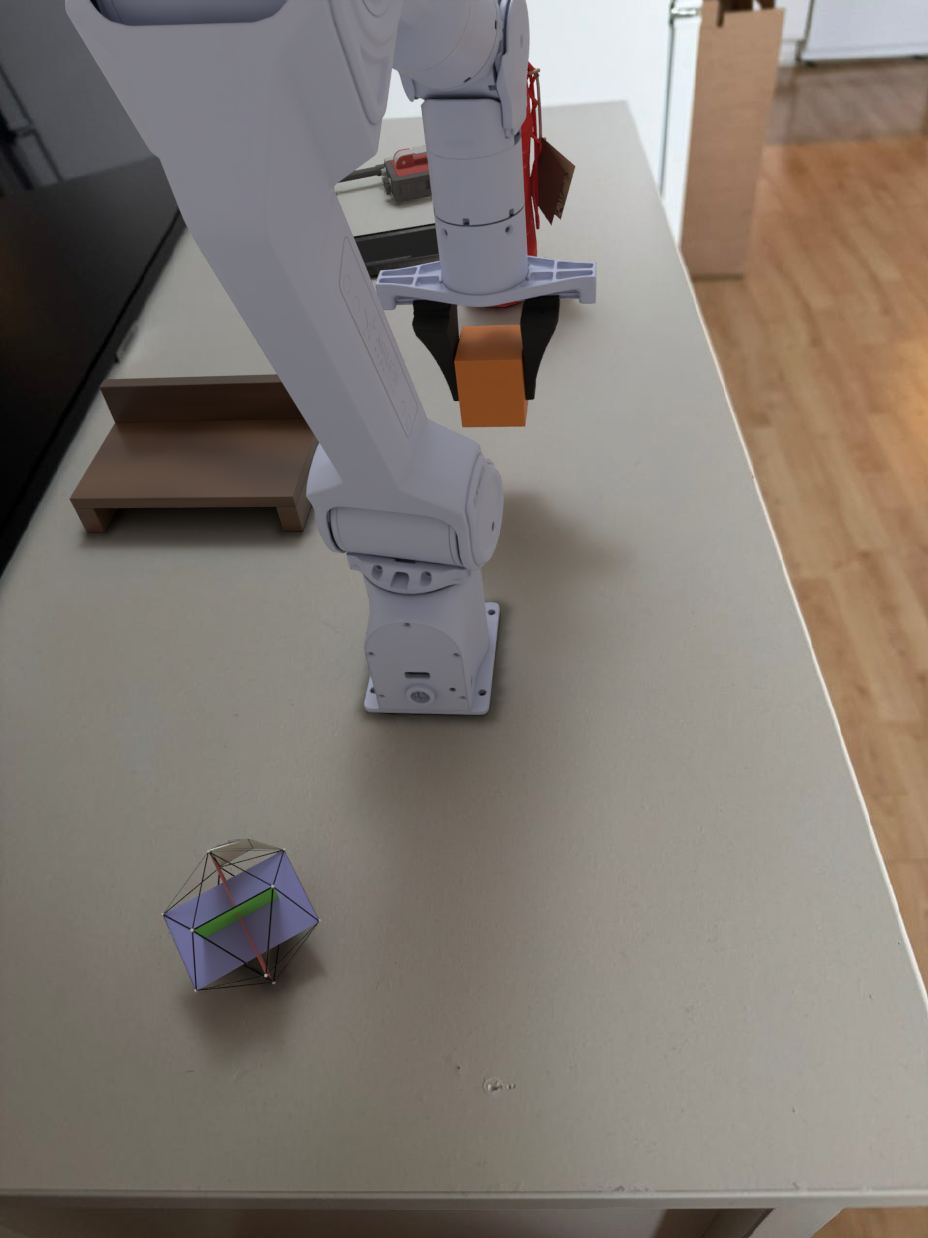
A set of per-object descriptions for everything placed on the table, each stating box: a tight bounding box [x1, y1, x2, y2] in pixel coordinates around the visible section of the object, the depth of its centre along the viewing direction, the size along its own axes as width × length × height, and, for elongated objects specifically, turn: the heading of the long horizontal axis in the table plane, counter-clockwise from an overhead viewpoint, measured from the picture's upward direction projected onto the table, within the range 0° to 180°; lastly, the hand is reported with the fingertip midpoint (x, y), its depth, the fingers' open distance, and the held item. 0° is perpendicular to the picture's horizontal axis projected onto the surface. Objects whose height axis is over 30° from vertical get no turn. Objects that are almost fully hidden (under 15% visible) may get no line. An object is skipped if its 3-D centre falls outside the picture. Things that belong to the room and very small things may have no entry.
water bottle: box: [487, 60, 576, 308], centre depth 87 cm, size 12×8×25 cm, turn 91°
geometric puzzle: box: [160, 838, 322, 993], centre depth 48 cm, size 7×7×8 cm
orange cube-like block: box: [454, 324, 529, 428], centre depth 68 cm, size 5×5×6 cm
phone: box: [353, 222, 440, 277], centre depth 103 cm, size 8×1×15 cm
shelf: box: [69, 373, 319, 533], centre depth 76 cm, size 11×18×7 cm, turn 84°
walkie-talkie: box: [337, 144, 432, 203], centre depth 114 cm, size 9×4×20 cm
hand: (495, 392), depth 69 cm, fingers closed on orange cube-like block, 4 cm apart
